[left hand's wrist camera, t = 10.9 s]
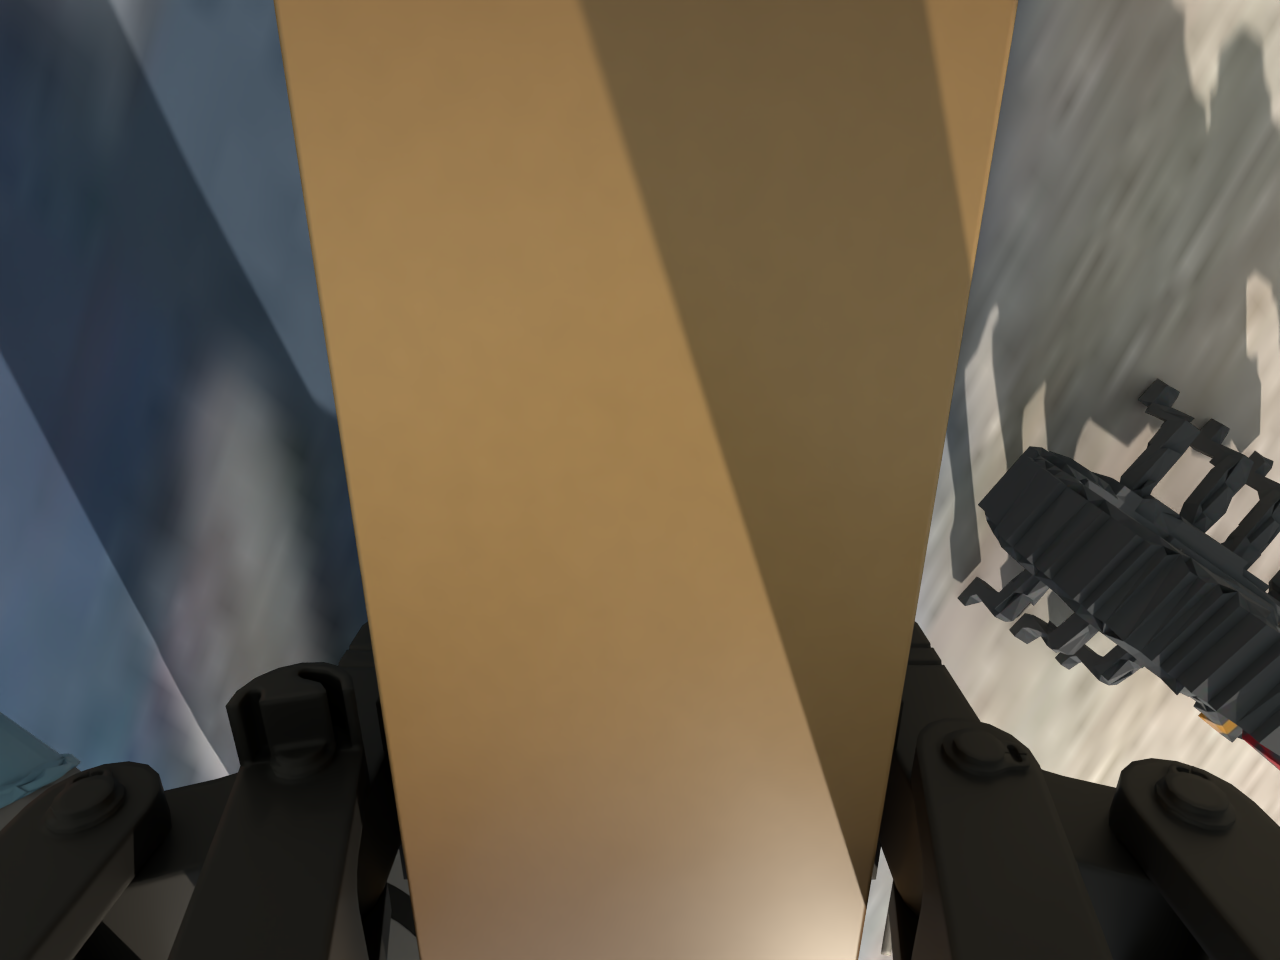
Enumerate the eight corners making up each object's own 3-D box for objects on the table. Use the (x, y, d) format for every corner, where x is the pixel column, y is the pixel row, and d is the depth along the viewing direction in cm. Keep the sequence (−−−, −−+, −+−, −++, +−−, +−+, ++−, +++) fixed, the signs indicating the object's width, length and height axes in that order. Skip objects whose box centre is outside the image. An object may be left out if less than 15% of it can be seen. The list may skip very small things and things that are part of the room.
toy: (1006, 266, 31) (1441, 362, 14) (1411, 566, 36) (2086, 898, 19) (814, 510, 35) (972, 809, 18) (1202, 747, 41) (1605, 1152, 24)
